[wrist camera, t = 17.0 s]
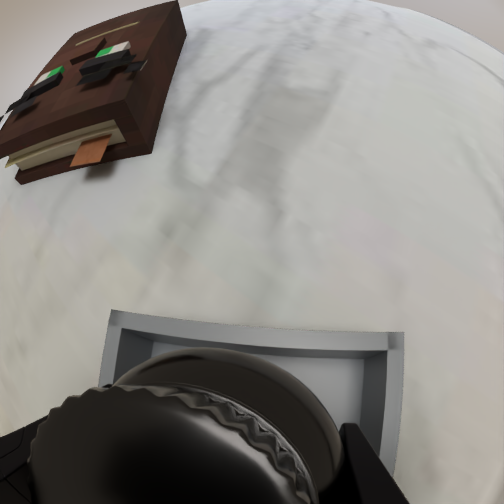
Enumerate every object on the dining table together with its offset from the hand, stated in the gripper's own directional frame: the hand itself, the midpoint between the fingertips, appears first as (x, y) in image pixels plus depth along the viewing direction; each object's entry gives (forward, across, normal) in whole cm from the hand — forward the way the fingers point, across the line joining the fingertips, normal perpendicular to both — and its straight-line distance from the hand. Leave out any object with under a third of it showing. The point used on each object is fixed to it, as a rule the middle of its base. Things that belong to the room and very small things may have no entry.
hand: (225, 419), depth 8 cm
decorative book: (+27, +22, -14) cm, 37 cm away
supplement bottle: (+4, 0, +6) cm, 7 cm away
